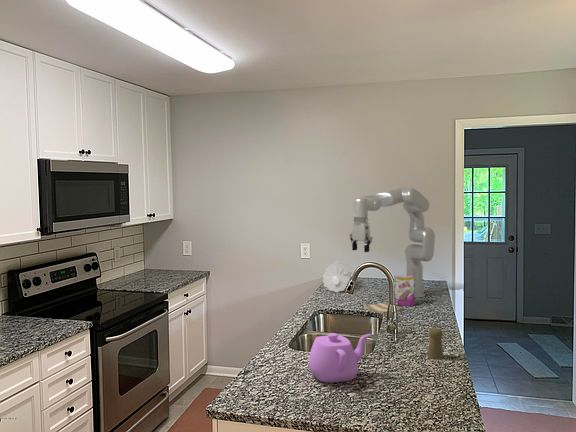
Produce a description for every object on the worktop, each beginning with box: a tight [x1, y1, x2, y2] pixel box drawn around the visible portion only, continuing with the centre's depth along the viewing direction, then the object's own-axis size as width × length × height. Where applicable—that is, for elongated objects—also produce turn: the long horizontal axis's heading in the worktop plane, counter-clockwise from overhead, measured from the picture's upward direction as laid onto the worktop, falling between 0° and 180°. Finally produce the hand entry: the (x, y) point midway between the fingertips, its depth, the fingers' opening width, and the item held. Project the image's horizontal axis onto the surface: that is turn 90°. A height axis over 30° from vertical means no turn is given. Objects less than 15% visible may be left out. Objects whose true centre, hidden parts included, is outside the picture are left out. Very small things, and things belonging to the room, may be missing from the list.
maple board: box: [363, 302, 404, 315], centre depth 262 cm, size 15×15×1 cm
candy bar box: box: [393, 275, 415, 307], centre depth 271 cm, size 11×5×16 cm, turn 84°
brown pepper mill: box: [427, 328, 444, 360], centre depth 188 cm, size 6×6×11 cm
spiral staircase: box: [322, 260, 353, 293], centre depth 314 cm, size 18×18×25 cm
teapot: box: [308, 332, 372, 383], centre depth 169 cm, size 23×21×15 cm
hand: (360, 251), depth 267 cm, fingers open, 9 cm apart
